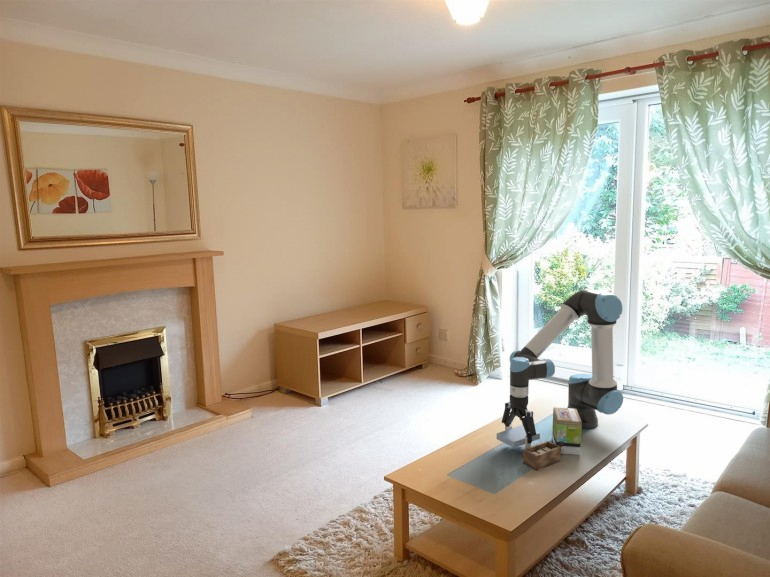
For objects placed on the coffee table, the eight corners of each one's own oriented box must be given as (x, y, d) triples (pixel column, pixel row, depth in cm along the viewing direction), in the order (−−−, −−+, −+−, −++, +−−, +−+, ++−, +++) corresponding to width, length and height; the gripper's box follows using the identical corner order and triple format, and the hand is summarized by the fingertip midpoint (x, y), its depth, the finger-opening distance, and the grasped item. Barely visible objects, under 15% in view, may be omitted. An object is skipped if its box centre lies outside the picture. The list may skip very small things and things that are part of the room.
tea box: (581, 455, 217) (582, 421, 215) (555, 453, 219) (556, 420, 217) (575, 439, 231) (576, 407, 229) (551, 438, 233) (552, 406, 231)
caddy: (547, 454, 218) (547, 440, 218) (560, 460, 213) (561, 446, 212) (523, 463, 211) (523, 449, 210) (536, 470, 205) (536, 456, 204)
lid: (522, 432, 230) (522, 425, 230) (539, 440, 222) (539, 433, 221) (496, 440, 223) (496, 433, 222) (513, 449, 214) (513, 442, 214)
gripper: (493, 388, 227) (492, 437, 230) (533, 404, 208) (532, 458, 211) (506, 385, 231) (505, 433, 234) (546, 400, 212) (545, 453, 215)
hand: (518, 445), depth 223 cm, fingers closed on lid, 10 cm apart
